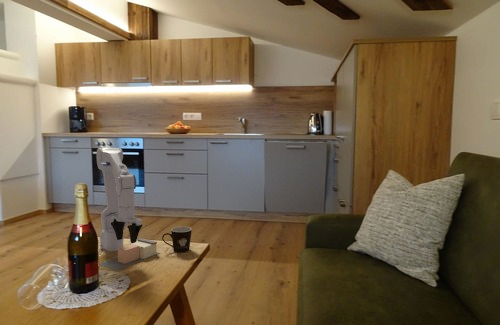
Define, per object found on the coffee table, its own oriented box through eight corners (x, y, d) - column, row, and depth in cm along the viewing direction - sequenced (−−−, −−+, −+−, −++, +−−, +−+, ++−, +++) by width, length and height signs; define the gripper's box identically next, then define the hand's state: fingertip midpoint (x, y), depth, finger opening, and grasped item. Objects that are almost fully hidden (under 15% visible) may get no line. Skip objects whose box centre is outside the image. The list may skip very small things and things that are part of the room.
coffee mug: (193, 249, 153) (194, 227, 153) (188, 256, 145) (188, 232, 144) (168, 248, 155) (168, 225, 154) (161, 254, 146) (161, 231, 145)
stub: (117, 261, 135) (117, 248, 134) (132, 256, 141) (132, 244, 141) (125, 263, 133) (125, 250, 133) (139, 258, 139) (139, 245, 139)
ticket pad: (128, 254, 142) (128, 242, 142) (141, 250, 149) (141, 237, 148) (144, 259, 138) (144, 246, 138) (157, 254, 144) (157, 241, 144)
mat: (97, 267, 132) (96, 264, 132) (141, 250, 151) (141, 248, 151) (117, 273, 126) (116, 270, 126) (160, 255, 145) (160, 253, 145)
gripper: (104, 205, 134) (105, 240, 136) (131, 210, 127) (131, 247, 128) (119, 202, 141) (120, 236, 142) (146, 207, 133) (146, 242, 134)
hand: (126, 241), depth 135 cm, fingers open, 7 cm apart
